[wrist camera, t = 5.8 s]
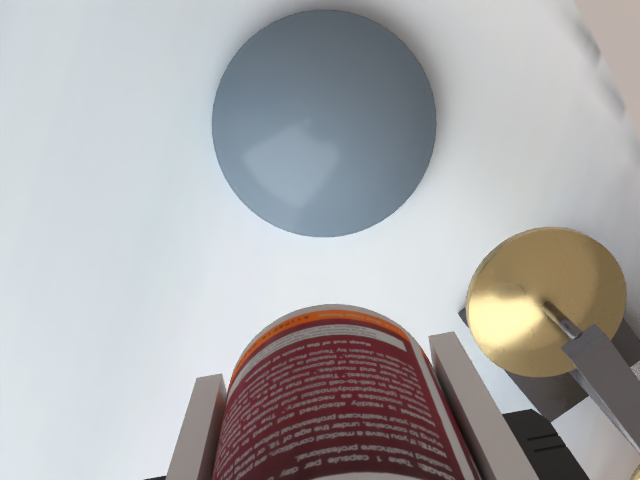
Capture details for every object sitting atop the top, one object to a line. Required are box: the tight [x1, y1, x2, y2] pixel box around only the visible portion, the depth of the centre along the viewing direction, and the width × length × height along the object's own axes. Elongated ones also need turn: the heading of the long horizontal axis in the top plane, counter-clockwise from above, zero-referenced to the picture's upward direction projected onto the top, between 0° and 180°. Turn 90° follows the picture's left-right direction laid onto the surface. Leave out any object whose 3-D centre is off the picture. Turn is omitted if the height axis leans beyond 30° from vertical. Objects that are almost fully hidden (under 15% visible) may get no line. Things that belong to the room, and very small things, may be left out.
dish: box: [212, 10, 436, 237], centre depth 35 cm, size 13×13×1 cm
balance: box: [458, 227, 640, 480], centre depth 33 cm, size 25×8×16 cm, turn 40°
